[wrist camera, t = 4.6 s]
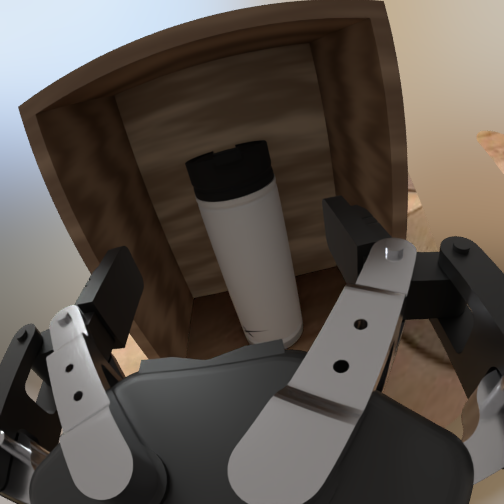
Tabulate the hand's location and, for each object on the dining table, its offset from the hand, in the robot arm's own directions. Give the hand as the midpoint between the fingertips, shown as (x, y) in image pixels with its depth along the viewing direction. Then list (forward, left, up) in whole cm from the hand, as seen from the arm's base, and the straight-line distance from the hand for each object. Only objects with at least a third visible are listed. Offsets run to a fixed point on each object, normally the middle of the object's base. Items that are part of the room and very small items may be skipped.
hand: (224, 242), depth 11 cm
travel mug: (+10, -6, -19) cm, 22 cm away
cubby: (+11, -6, -18) cm, 22 cm away
